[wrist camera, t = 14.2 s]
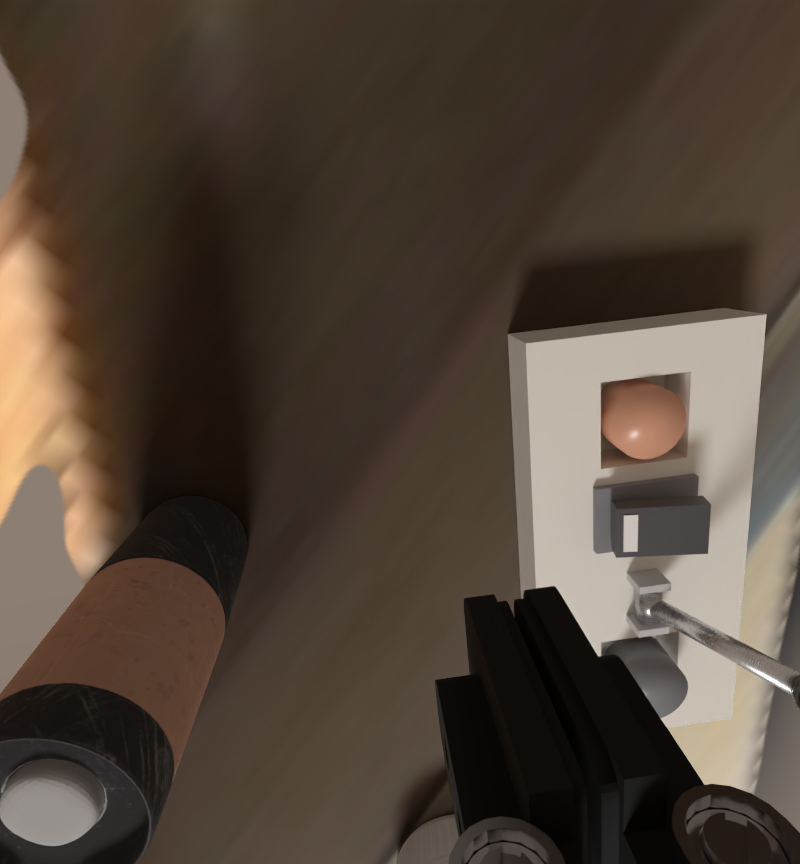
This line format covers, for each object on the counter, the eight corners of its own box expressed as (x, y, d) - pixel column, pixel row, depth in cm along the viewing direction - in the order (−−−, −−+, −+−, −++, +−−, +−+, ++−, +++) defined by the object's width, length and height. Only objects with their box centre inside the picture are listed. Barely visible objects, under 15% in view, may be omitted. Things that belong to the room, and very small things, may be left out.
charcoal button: (602, 638, 40) (622, 669, 37) (664, 629, 40) (689, 660, 37) (602, 689, 41) (622, 724, 38) (662, 680, 41) (686, 714, 38)
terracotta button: (591, 380, 36) (613, 392, 33) (659, 372, 36) (688, 383, 33) (592, 446, 37) (613, 463, 34) (657, 438, 38) (684, 454, 34)
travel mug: (202, 468, 37) (43, 694, 18) (275, 553, 39) (202, 834, 20) (111, 532, 38) (-132, 811, 19) (188, 611, 40) (39, 933, 21)
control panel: (507, 334, 36) (535, 348, 31) (723, 307, 37) (789, 317, 31) (526, 704, 45) (550, 768, 39) (700, 679, 46) (748, 738, 40)
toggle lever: (625, 588, 37) (838, 703, 27) (650, 575, 38) (865, 681, 28) (625, 620, 37) (832, 744, 27) (650, 606, 39) (858, 721, 28)
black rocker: (611, 500, 35) (616, 509, 33) (702, 495, 34) (711, 504, 33) (611, 547, 36) (616, 558, 34) (699, 543, 35) (708, 554, 34)
